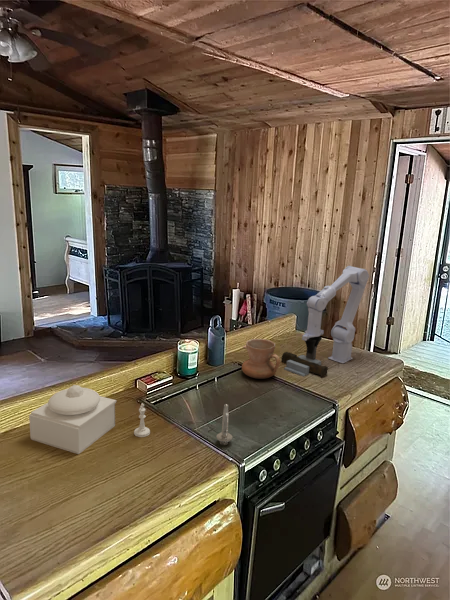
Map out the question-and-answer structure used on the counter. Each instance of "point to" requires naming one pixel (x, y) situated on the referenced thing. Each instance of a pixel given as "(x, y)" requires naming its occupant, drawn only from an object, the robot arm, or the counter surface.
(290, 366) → the fixed jaw
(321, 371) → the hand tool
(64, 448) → the butter dish
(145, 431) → the chess piece
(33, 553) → the counter surface
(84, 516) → the counter surface
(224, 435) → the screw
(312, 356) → the free jaw
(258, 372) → the ceramic jug
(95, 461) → the counter surface
